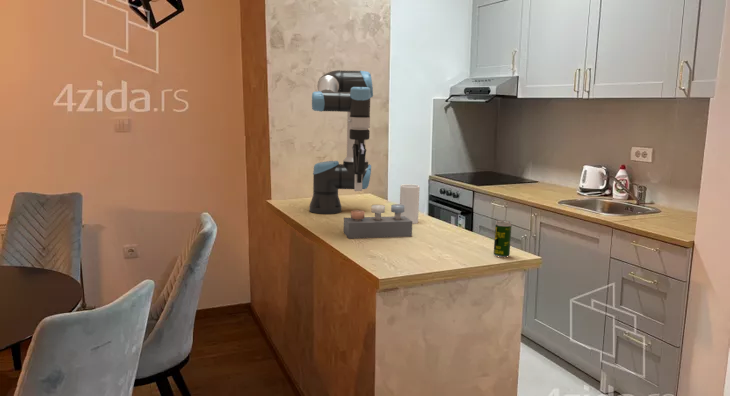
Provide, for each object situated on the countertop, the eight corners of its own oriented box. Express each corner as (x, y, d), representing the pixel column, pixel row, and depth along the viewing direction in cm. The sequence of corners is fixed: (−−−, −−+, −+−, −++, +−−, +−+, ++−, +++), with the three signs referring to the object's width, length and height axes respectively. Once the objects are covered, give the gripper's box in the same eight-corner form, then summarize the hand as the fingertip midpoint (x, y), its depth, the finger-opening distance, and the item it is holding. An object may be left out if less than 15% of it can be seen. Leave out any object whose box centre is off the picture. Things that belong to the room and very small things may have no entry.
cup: (417, 224, 238) (418, 187, 235) (397, 223, 240) (399, 186, 237) (419, 220, 246) (420, 184, 243) (400, 219, 248) (401, 183, 245)
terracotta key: (349, 229, 218) (349, 210, 217) (362, 228, 219) (362, 210, 218) (352, 232, 213) (352, 213, 212) (365, 231, 214) (365, 212, 213)
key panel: (343, 232, 220) (343, 217, 219) (404, 230, 226) (404, 216, 225) (348, 238, 210) (348, 223, 209) (411, 236, 216) (412, 221, 215)
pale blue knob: (389, 222, 221) (389, 204, 220) (401, 222, 222) (402, 204, 221) (392, 225, 216) (393, 206, 215) (405, 225, 217) (406, 206, 216)
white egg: (369, 223, 219) (370, 204, 218) (382, 222, 221) (382, 204, 219) (372, 226, 214) (373, 207, 213) (385, 225, 216) (386, 207, 214)
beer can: (497, 253, 195) (500, 219, 193) (512, 256, 192) (514, 221, 190) (490, 256, 191) (492, 221, 189) (505, 259, 188) (507, 224, 186)
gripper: (346, 127, 215) (345, 188, 219) (353, 129, 202) (352, 193, 206) (365, 127, 216) (363, 187, 221) (373, 130, 204) (371, 193, 208)
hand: (358, 190), depth 214 cm, fingers closed
